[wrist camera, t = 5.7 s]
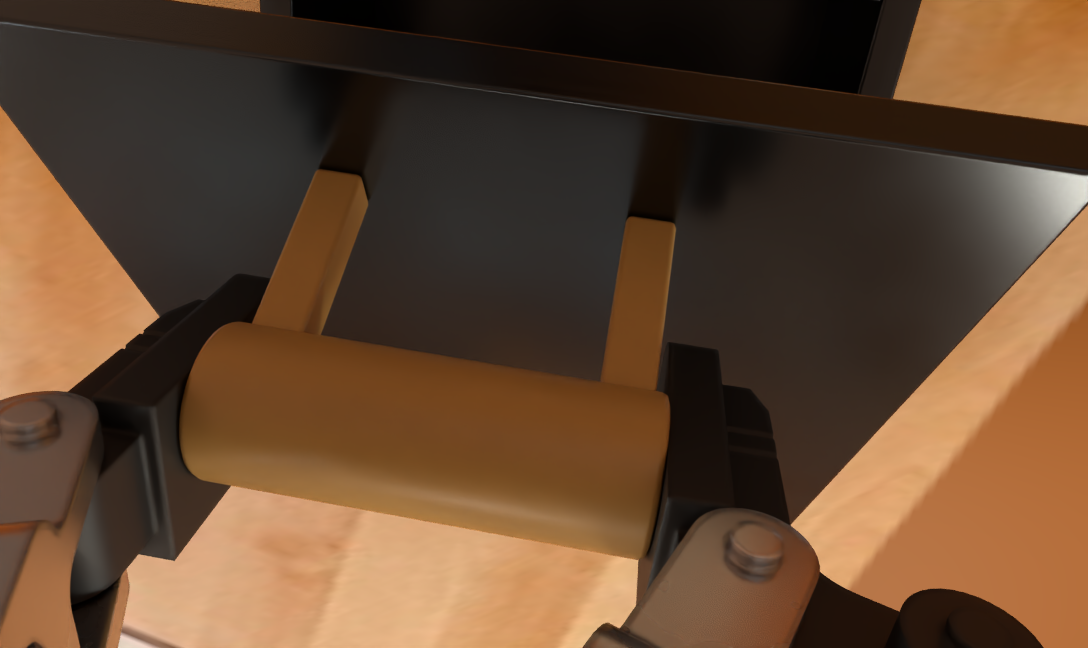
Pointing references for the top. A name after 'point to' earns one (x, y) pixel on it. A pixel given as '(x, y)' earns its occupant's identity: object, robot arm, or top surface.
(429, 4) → the bread bin
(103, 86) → the bin lid
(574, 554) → the top surface
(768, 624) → the robot arm
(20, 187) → the top surface
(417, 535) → the top surface
